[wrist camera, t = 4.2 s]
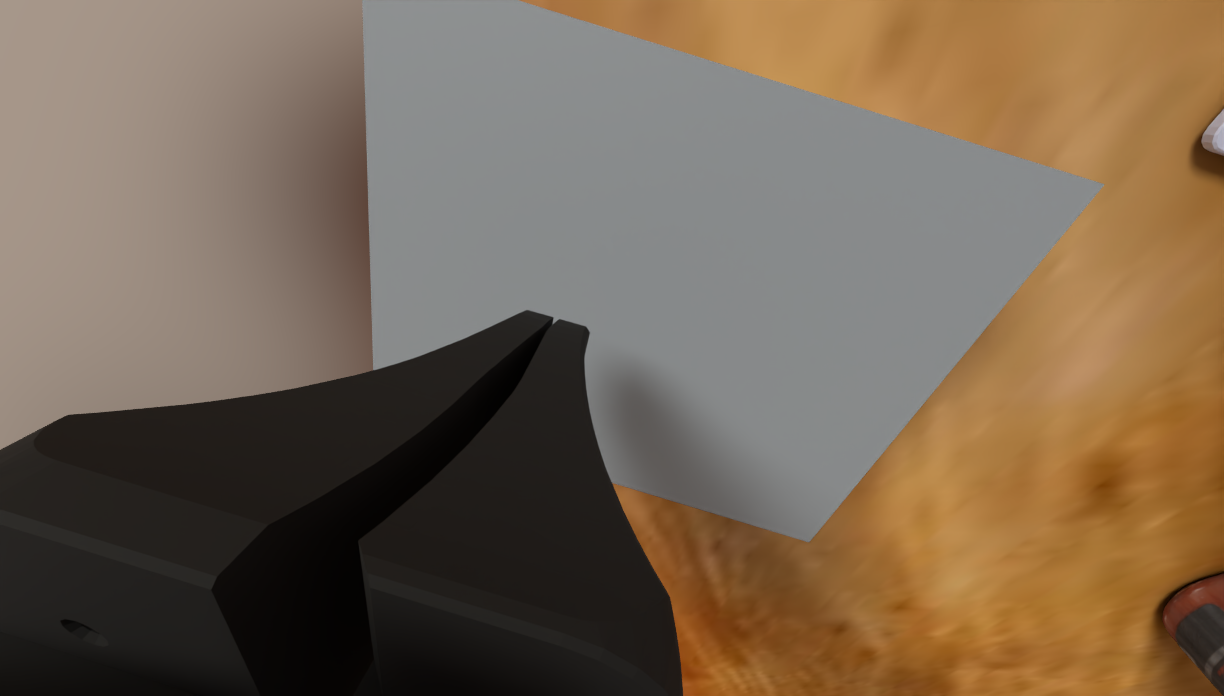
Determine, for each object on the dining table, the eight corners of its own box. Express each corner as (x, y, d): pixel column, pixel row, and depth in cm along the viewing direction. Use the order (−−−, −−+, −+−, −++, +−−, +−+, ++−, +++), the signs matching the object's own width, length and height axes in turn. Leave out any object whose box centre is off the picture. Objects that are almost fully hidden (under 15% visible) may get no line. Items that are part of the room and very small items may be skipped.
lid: (1082, 179, 10) (1104, 184, 9) (805, 528, 16) (809, 542, 16) (378, -42, 10) (360, -50, 9) (384, 400, 16) (374, 410, 16)
